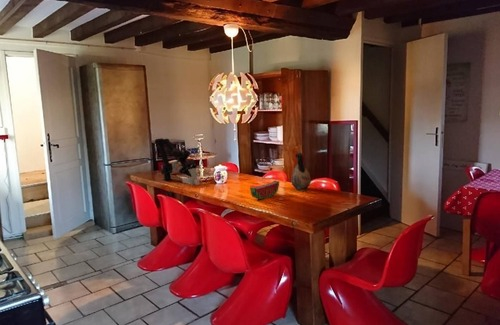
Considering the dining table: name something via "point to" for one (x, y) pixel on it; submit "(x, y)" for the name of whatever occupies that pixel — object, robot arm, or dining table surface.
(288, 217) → the dining table surface
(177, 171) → the stack of blocks
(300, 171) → the ceramic jug
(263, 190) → the fruit slice
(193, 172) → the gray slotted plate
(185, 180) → the white rectangular bar
